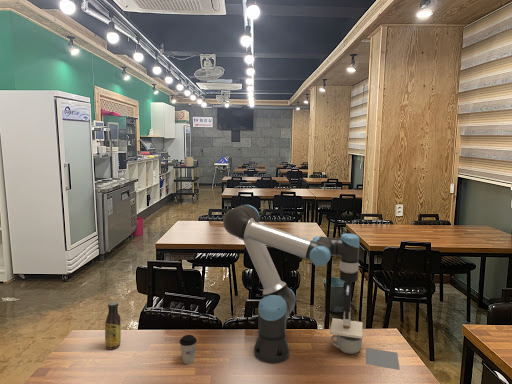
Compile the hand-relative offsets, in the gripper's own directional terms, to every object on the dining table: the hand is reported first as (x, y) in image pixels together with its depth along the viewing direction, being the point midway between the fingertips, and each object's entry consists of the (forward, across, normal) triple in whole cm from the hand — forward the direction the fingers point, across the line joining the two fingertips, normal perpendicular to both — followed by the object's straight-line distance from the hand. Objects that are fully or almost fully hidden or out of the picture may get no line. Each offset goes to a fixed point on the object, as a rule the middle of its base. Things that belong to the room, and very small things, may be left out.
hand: (346, 323), depth 158 cm
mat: (+13, -2, -15) cm, 20 cm away
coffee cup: (+12, -28, +61) cm, 68 cm away
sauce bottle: (+12, -28, +97) cm, 102 cm away
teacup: (+13, 0, 0) cm, 13 cm away
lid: (+3, 0, 0) cm, 3 cm away
